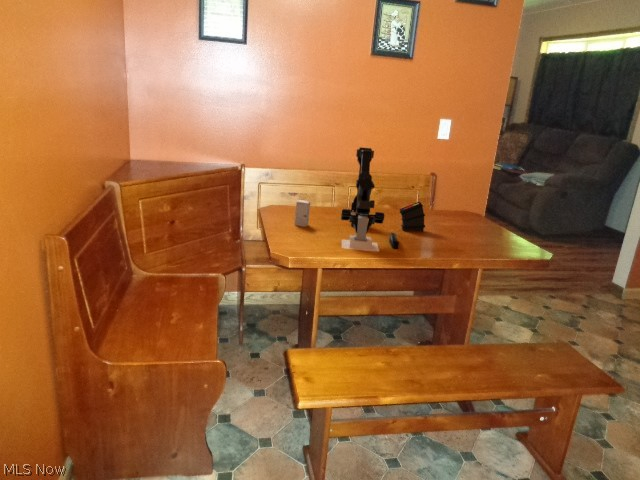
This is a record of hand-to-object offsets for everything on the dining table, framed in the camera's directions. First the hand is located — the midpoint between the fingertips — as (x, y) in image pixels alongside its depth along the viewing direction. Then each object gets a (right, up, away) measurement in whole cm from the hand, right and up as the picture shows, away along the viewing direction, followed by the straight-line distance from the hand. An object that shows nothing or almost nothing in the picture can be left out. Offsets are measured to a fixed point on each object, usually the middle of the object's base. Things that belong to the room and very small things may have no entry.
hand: (361, 233), depth 200 cm
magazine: (+28, +2, +35) cm, 45 cm away
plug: (0, -5, +3) cm, 6 cm away
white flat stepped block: (-1, -6, +4) cm, 7 cm away
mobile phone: (+15, -6, +10) cm, 19 cm away
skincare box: (-27, +4, +29) cm, 40 cm away
